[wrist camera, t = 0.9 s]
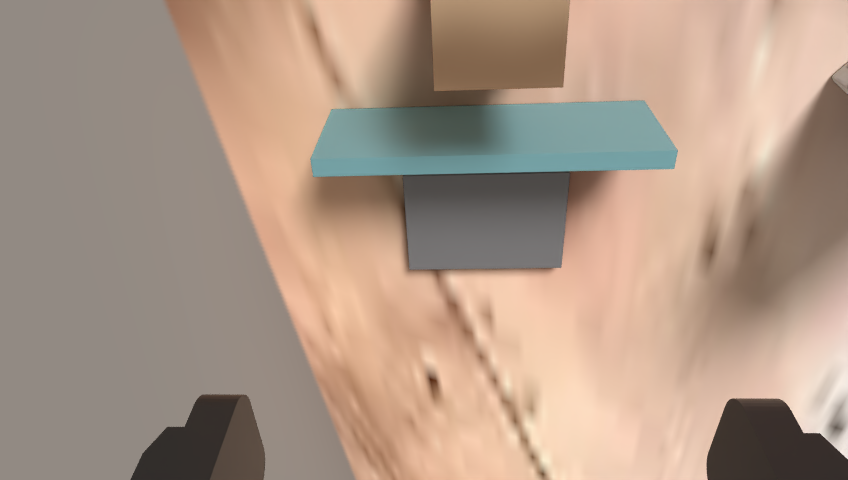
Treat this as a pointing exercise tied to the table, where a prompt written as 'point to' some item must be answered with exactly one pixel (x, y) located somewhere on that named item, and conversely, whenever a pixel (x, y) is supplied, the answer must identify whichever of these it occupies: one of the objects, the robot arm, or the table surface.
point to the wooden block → (498, 44)
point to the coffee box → (842, 78)
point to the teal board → (492, 139)
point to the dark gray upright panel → (486, 220)
